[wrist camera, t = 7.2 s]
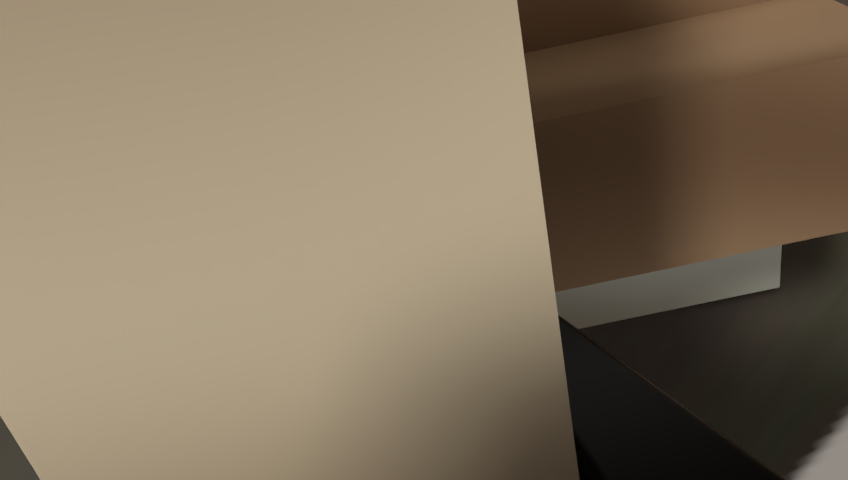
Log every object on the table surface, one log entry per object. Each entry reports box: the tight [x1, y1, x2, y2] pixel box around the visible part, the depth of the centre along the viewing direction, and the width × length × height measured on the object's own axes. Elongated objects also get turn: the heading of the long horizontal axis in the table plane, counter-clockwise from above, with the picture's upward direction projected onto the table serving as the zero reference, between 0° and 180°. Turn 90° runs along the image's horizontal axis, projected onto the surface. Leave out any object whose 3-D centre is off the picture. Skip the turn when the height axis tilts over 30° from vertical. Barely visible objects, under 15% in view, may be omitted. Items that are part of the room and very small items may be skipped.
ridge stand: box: [517, 0, 848, 329], centre depth 13 cm, size 12×16×6 cm
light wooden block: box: [0, 0, 579, 480], centre depth 7 cm, size 16×3×4 cm, turn 11°
